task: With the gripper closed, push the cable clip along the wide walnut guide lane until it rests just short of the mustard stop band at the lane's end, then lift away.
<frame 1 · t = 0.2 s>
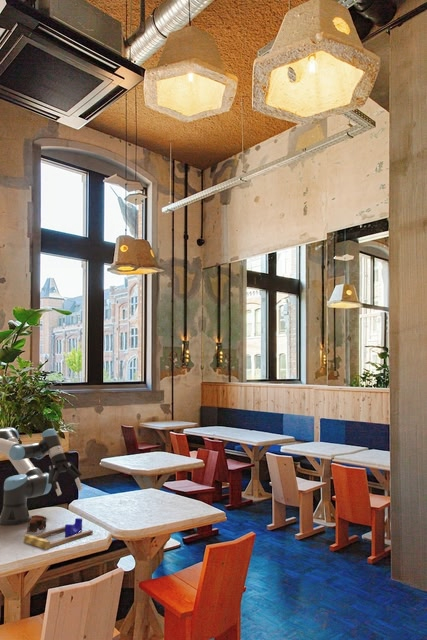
hand: (70, 492, 269), 16 cm above the table, tool tilted 35°, fingers open, 13 cm apart
cable clip: (72, 534, 252), on the table
pottery mug: (37, 530, 258), on the table
guide lane: (60, 537, 246), on the table
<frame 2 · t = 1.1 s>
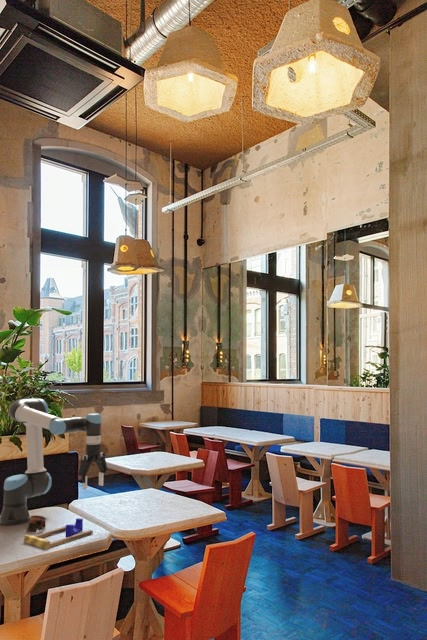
hand: (93, 487, 264), 20 cm above the table, tool pointing down, fingers open, 10 cm apart
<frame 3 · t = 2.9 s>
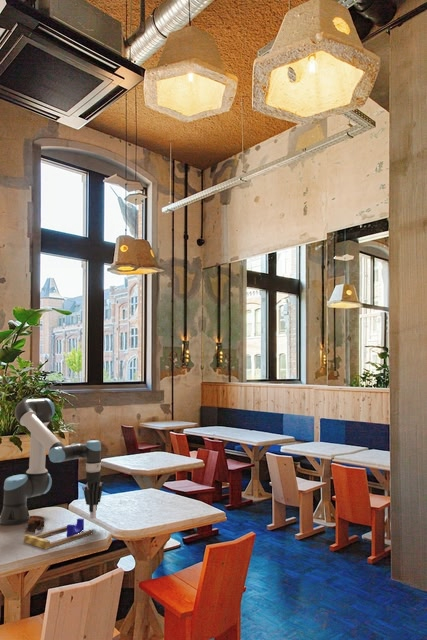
hand: (93, 517, 263), 5 cm above the table, tool pointing down, fingers closed
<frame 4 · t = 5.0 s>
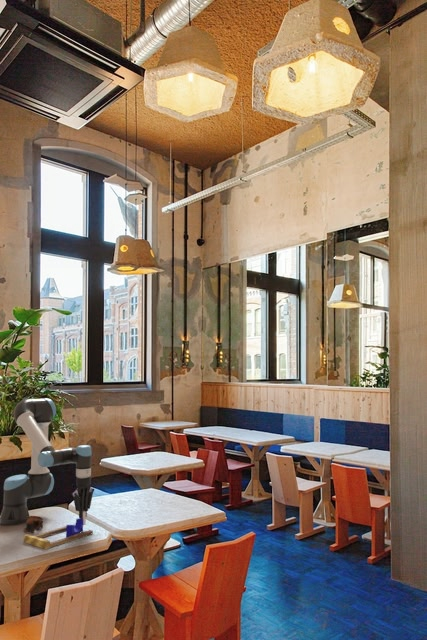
hand: (82, 524, 258), 3 cm above the table, tool pointing down, fingers closed
cable clip: (73, 534, 251), on the table, touching gripper
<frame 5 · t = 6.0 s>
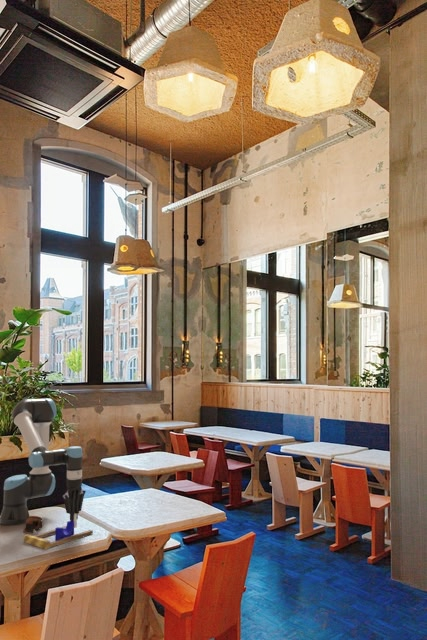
hand: (73, 527, 253), 3 cm above the table, tool pointing down, fingers closed
cable clip: (63, 537, 246), on the table, touching gripper
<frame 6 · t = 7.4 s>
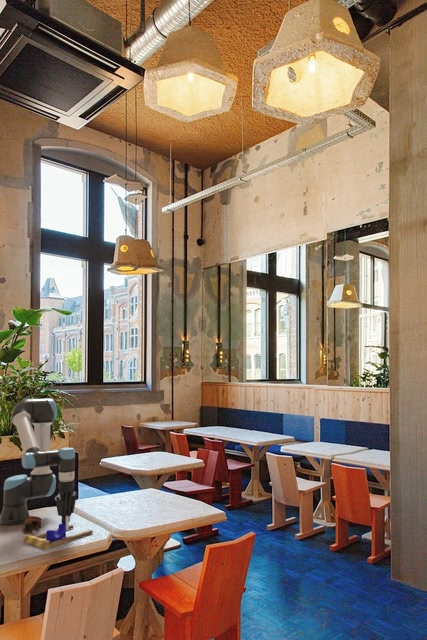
hand: (65, 529, 249), 3 cm above the table, tool pointing down, fingers closed
cable clip: (54, 540, 242), on the table, touching gripper
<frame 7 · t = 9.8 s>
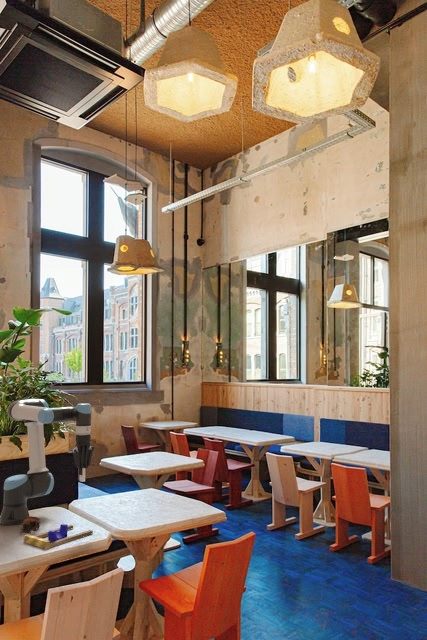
hand: (82, 481, 259), 24 cm above the table, tool pointing down, fingers closed
cable clip: (56, 541, 242), on the table
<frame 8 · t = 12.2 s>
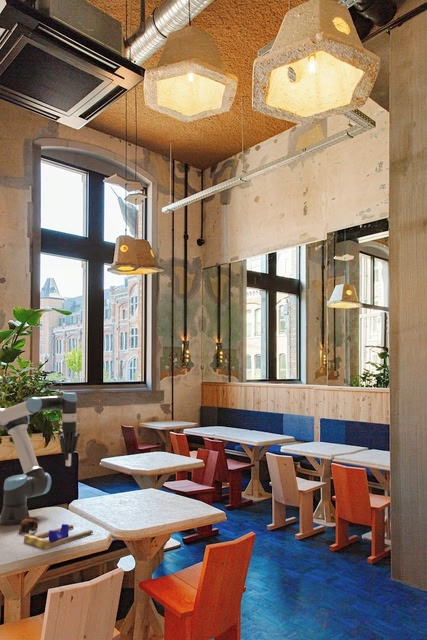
hand: (68, 465, 274), 29 cm above the table, tool pointing down, fingers closed
at the end: cable clip inside the target area (3.1 cm from its centre), on the table; cable clip moved 10.5 cm from its start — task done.
